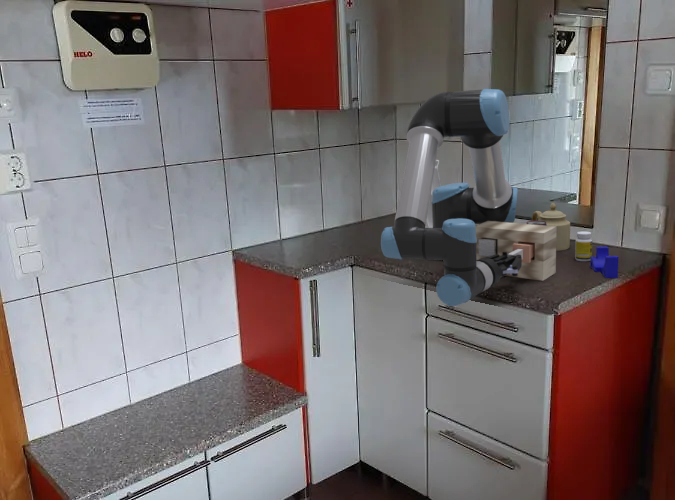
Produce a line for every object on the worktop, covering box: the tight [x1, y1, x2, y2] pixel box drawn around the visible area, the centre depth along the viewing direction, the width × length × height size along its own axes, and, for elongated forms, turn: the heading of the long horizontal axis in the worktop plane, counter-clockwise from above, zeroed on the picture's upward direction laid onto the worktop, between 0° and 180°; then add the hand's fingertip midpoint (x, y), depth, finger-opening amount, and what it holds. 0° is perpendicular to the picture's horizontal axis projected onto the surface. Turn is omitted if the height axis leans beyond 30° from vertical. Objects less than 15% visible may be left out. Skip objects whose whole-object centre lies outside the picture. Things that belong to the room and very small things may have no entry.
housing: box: [475, 221, 557, 282], centre depth 182 cm, size 21×9×14 cm, turn 50°
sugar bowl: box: [531, 202, 571, 252], centre depth 208 cm, size 15×11×15 cm
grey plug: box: [479, 238, 498, 257], centre depth 185 cm, size 5×12×5 cm, turn 140°
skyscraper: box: [425, 159, 442, 228], centre depth 234 cm, size 8×8×28 cm
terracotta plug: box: [513, 242, 535, 263], centre depth 177 cm, size 5×12×5 cm, turn 140°
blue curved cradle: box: [589, 246, 619, 279], centre depth 177 cm, size 12×4×6 cm, turn 171°
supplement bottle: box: [574, 231, 593, 262], centre depth 190 cm, size 5×5×8 cm
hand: (520, 253), depth 172 cm, fingers closed
